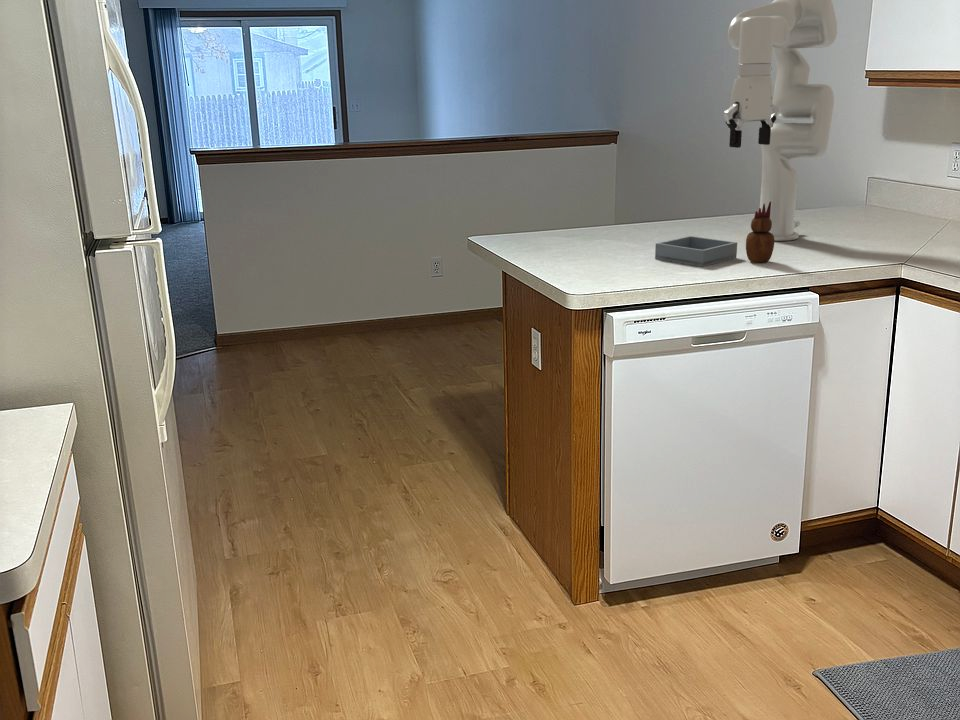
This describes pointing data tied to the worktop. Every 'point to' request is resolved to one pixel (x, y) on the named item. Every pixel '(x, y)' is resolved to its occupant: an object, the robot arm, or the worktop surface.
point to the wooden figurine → (760, 237)
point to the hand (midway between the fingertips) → (749, 145)
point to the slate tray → (696, 250)
